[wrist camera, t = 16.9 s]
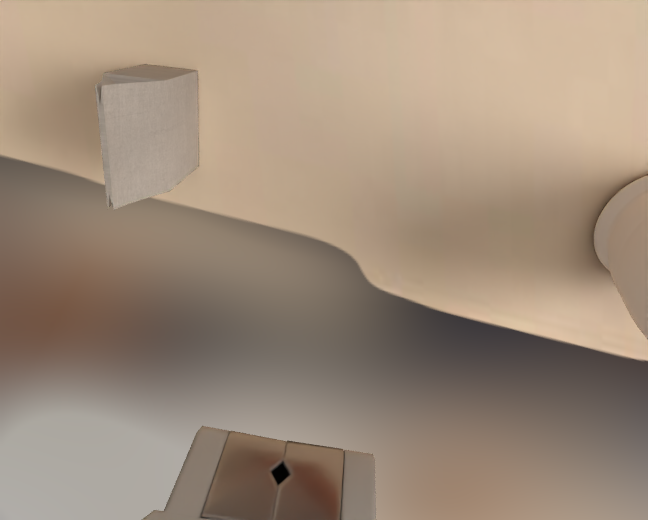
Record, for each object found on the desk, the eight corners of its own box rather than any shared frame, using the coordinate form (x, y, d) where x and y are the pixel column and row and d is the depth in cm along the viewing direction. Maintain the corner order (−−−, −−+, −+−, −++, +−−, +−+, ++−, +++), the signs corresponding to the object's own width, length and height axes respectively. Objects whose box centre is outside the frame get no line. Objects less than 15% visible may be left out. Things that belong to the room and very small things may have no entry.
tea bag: (197, 70, 34) (135, 89, 25) (198, 166, 37) (143, 213, 28) (145, 64, 34) (64, 81, 25) (150, 159, 37) (80, 205, 28)
